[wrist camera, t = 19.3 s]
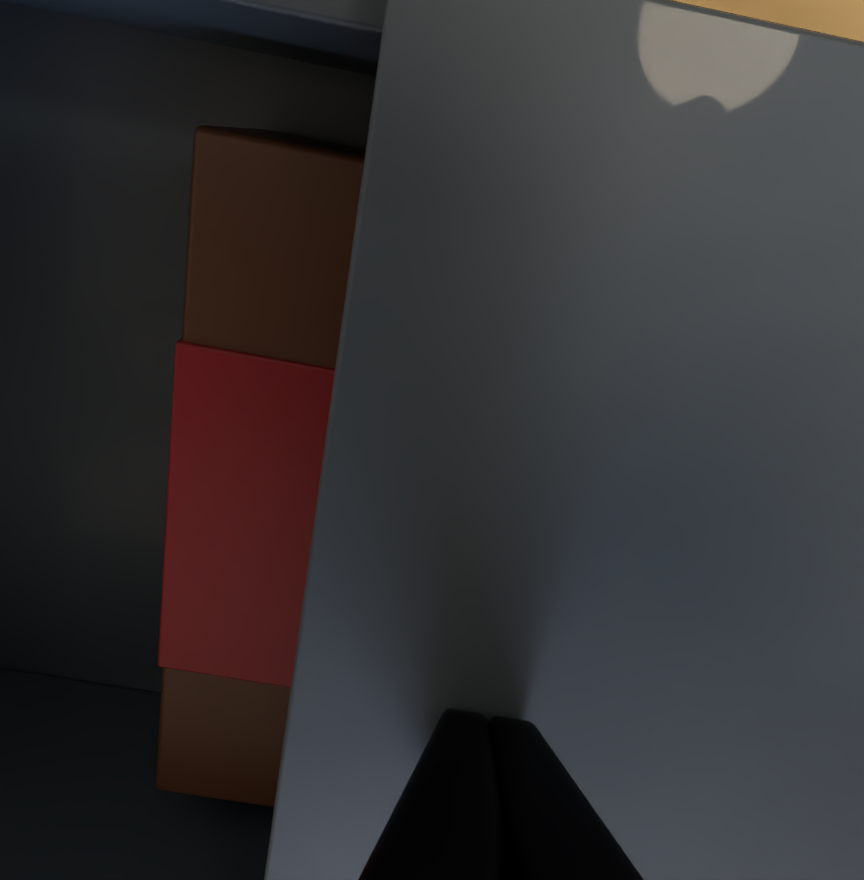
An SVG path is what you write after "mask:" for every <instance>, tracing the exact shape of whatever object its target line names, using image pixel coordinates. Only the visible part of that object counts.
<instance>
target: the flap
mask: <svg viewBox="0 0 864 880" xmlns="http://www.w3.org/2000/svg"><path fill="white" fill-rule="evenodd" d="M449 708H453V709H459V710H465V711H472V712H478V713H482V714H483V715H484V716H485V717H486V719H487V722H489V720H490V719H491V718H492V717H494V716H503V717H509V718H516V719H522V720H527V721H530V722H532V723H533V724H534V725H535V726H536V727H537V728H538V730H539V731H540V733H541V734H542V736H543V737H544V738H545V740H546V741H547V743H548V744H549V746H550V747H551V748H552V750H553V751H554V753H555V754H556V755H557V757H558V758H559V760H560V761H561V763H562V764H563V765H564V767H565V768H566V770H567V771H568V772H569V774H570V775H571V777H572V778H573V780H574V781H575V782H576V784H577V785H578V787H579V788H580V790H581V791H582V792H583V794H584V795H585V797H586V798H587V799H588V801H589V802H590V804H591V805H592V807H593V808H594V809H595V811H596V812H597V814H598V815H599V817H600V818H601V819H602V821H603V822H604V824H605V825H606V826H607V828H608V829H609V831H610V832H611V834H612V835H613V836H614V838H615V839H616V841H617V842H618V844H619V845H620V846H621V848H622V849H623V851H624V852H625V853H626V855H627V856H628V858H629V859H630V861H631V862H632V863H633V865H634V866H635V868H636V869H637V871H638V872H639V873H640V875H641V876H642V878H643V879H644V880H864V42H862V41H857V40H852V39H848V38H843V37H839V36H834V35H829V34H825V33H820V32H815V31H811V30H806V29H802V28H797V27H792V26H788V25H783V24H778V23H774V22H769V21H765V20H760V19H755V18H751V17H746V16H742V15H737V14H732V13H728V12H723V11H718V10H714V9H709V8H705V7H700V6H695V5H691V4H686V3H681V2H677V1H672V0H387V2H386V9H385V16H384V23H383V30H382V38H381V45H380V52H379V59H378V66H377V73H376V81H375V88H374V95H373V102H372V109H371V116H370V123H369V131H368V138H367V145H366V152H365V159H364V166H363V174H362V181H361V188H360V195H359V202H358V209H357V217H356V224H355V231H354V238H353V245H352V252H351V260H350V267H349V274H348V281H347V288H346V295H345V302H344V310H343V317H342V324H341V331H340V338H339V345H338V353H337V360H336V367H335V374H334V381H333V388H332V396H331V403H330V410H329V417H328V424H327V431H326V439H325V446H324V453H323V460H322V467H321V474H320V481H319V489H318V496H317V503H316V510H315V517H314V524H313V532H312V539H311V546H310V553H309V560H308V567H307V575H306V582H305V589H304V596H303V603H302V610H301V618H300V625H299V632H298V639H297V646H296V653H295V660H294V668H293V675H292V682H291V689H290V696H289V703H288V711H287V718H286V725H285V732H284V739H283V746H282V754H281V761H280V768H279V775H278V782H277V789H276V797H275V804H274V811H273V818H272V825H271V832H270V839H269V847H268V854H267V861H266V868H265V875H264V880H358V879H359V877H360V875H361V873H362V871H363V869H364V867H365V865H366V863H367V861H368V859H369V857H370V855H371V853H372V851H373V849H374V847H375V845H376V843H377V842H378V840H379V838H380V836H381V834H382V832H383V830H384V828H385V826H386V824H387V822H388V820H389V818H390V816H391V814H392V812H393V810H394V808H395V806H396V804H397V802H398V800H399V798H400V796H401V794H402V792H403V790H404V788H405V786H406V784H407V782H408V780H409V778H410V776H411V775H412V773H413V771H414V769H415V767H416V765H417V763H418V761H419V759H420V757H421V755H422V753H423V751H424V749H425V747H426V745H427V743H428V741H429V739H430V737H431V735H432V733H433V731H434V729H435V727H436V725H437V723H438V721H439V719H440V717H441V715H442V714H443V712H444V711H445V710H446V709H449Z"/></svg>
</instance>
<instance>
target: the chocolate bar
mask: <svg viewBox="0 0 864 880" xmlns="http://www.w3.org/2000/svg"><path fill="white" fill-rule="evenodd" d="M365 152H366V149H363V148H358V147H353V146H348V145H343V144H338V143H332V142H327V141H322V140H317V139H312V138H307V137H302V136H296V135H291V134H286V133H281V132H276V131H271V130H266V129H253V128H238V127H222V126H207V125H202V126H198V127H196V129H195V131H194V138H193V155H192V173H191V190H190V207H189V224H188V241H187V258H186V275H185V292H184V309H183V326H182V338H180V339H179V340H178V341H177V342H176V344H175V356H174V374H173V392H172V410H171V428H170V446H169V464H168V482H167V500H166V518H165V536H164V554H163V573H162V591H161V609H160V627H159V645H158V666H159V667H163V668H162V685H161V702H160V719H159V736H158V753H157V770H156V787H157V789H159V790H163V791H170V792H176V793H183V794H190V795H196V796H203V797H209V798H216V799H223V800H229V801H236V802H243V803H249V804H256V805H262V806H269V807H274V804H275V797H276V789H277V782H278V775H279V768H280V761H281V754H282V746H283V739H284V732H285V725H286V718H287V711H288V703H289V696H290V689H291V682H292V675H293V668H294V660H295V653H296V646H297V639H298V632H299V625H300V618H301V610H302V603H303V596H304V589H305V582H306V575H307V567H308V560H309V553H310V546H311V539H312V532H313V524H314V517H315V510H316V503H317V496H318V489H319V481H320V474H321V467H322V460H323V453H324V446H325V439H326V431H327V424H328V417H329V410H330V403H331V396H332V388H333V381H334V374H335V367H336V360H337V353H338V345H339V338H340V331H341V324H342V317H343V310H344V302H345V295H346V288H347V281H348V274H349V267H350V260H351V252H352V245H353V238H354V231H355V224H356V217H357V209H358V202H359V195H360V188H361V181H362V174H363V166H364V159H365Z"/></svg>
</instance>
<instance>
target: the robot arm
mask: <svg viewBox="0 0 864 880" xmlns="http://www.w3.org/2000/svg"><path fill="white" fill-rule="evenodd" d="M358 880H644V879H643V878H642V876H641V875H640V873H639V872H638V871H637V869H636V868H635V866H634V865H633V863H632V862H631V861H630V859H629V858H628V856H627V855H626V853H625V852H624V851H623V849H622V848H621V846H620V845H619V844H618V842H617V841H616V839H615V838H614V836H613V835H612V834H611V832H610V831H609V829H608V828H607V826H606V825H605V824H604V822H603V821H602V819H601V818H600V817H599V815H598V814H597V812H596V811H595V809H594V808H593V807H592V805H591V804H590V802H589V801H588V799H587V798H586V797H585V795H584V794H583V792H582V791H581V790H580V788H579V787H578V785H577V784H576V782H575V781H574V780H573V778H572V777H571V775H570V774H569V772H568V771H567V770H566V768H565V767H564V765H563V764H562V763H561V761H560V760H559V758H558V757H557V755H556V754H555V753H554V751H553V750H552V748H551V747H550V746H549V744H548V743H547V741H546V740H545V738H544V737H543V736H542V734H541V733H540V731H539V730H538V728H537V727H536V726H535V725H534V724H533V723H532V722H530V721H527V720H522V719H516V718H509V717H503V716H494V717H492V718H491V719H490V720H489V722H487V719H486V717H485V716H484V715H483V714H482V713H478V712H472V711H465V710H459V709H453V708H449V709H446V710H445V711H444V712H443V714H442V715H441V717H440V719H439V721H438V723H437V725H436V727H435V729H434V731H433V733H432V735H431V737H430V739H429V741H428V743H427V745H426V747H425V749H424V751H423V753H422V755H421V757H420V759H419V761H418V763H417V765H416V767H415V769H414V771H413V773H412V775H411V776H410V778H409V780H408V782H407V784H406V786H405V788H404V790H403V792H402V794H401V796H400V798H399V800H398V802H397V804H396V806H395V808H394V810H393V812H392V814H391V816H390V818H389V820H388V822H387V824H386V826H385V828H384V830H383V832H382V834H381V836H380V838H379V840H378V842H377V843H376V845H375V847H374V849H373V851H372V853H371V855H370V857H369V859H368V861H367V863H366V865H365V867H364V869H363V871H362V873H361V875H360V877H359V879H358Z"/></svg>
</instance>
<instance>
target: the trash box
mask: <svg viewBox="0 0 864 880" xmlns="http://www.w3.org/2000/svg"><path fill="white" fill-rule="evenodd" d="M386 2H387V0H0V880H264V875H265V868H266V861H267V854H268V847H269V839H270V832H271V825H272V818H273V811H274V807H269V806H262V805H256V804H249V803H243V802H236V801H229V800H223V799H216V798H209V797H203V796H196V795H190V794H183V793H176V792H170V791H163V790H159V789H157V787H156V770H157V753H158V736H159V719H160V702H161V685H162V668H163V667H159V666H158V645H159V627H160V609H161V591H162V573H163V554H164V536H165V518H166V500H167V482H168V464H169V446H170V428H171V410H172V392H173V374H174V356H175V344H176V342H177V341H178V340H179V339H180V338H182V326H183V309H184V292H185V275H186V258H187V241H188V224H189V207H190V190H191V173H192V155H193V138H194V131H195V129H196V127H198V126H202V125H207V126H222V127H238V128H253V129H266V130H271V131H276V132H281V133H286V134H291V135H296V136H302V137H307V138H312V139H317V140H322V141H327V142H332V143H338V144H343V145H348V146H353V147H358V148H363V149H366V145H367V138H368V131H369V123H370V116H371V109H372V102H373V95H374V88H375V81H376V73H377V66H378V59H379V52H380V45H381V38H382V30H383V23H384V16H385V9H386Z"/></svg>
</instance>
